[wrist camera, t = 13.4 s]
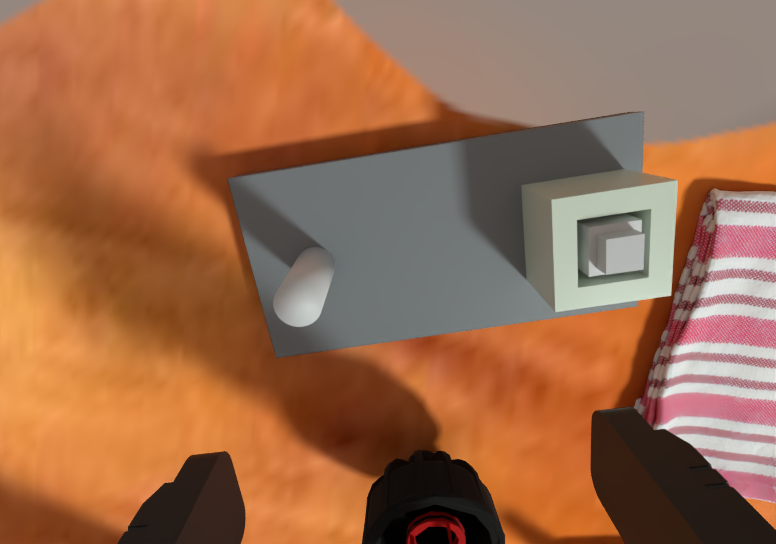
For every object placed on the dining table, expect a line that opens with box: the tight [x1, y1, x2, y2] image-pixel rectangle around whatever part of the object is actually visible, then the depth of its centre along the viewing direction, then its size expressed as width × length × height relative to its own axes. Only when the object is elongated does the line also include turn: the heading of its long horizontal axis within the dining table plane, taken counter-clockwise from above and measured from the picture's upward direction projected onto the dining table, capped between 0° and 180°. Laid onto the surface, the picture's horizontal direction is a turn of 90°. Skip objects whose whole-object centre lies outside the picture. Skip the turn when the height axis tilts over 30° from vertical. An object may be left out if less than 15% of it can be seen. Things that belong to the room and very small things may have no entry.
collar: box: [521, 169, 678, 312], centre depth 25 cm, size 6×6×5 cm
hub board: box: [228, 112, 645, 358], centre depth 25 cm, size 24×12×8 cm, turn 99°
